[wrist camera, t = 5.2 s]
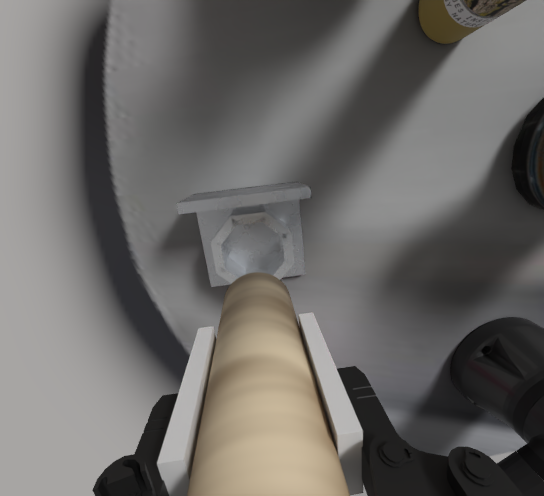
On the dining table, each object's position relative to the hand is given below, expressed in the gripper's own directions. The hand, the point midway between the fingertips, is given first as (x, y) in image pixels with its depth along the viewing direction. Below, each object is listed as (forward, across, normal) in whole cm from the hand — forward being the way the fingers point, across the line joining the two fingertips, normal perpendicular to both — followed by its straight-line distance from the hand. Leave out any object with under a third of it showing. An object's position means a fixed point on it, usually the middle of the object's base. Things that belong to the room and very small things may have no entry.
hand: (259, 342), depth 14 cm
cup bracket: (+20, 0, 0) cm, 20 cm away
